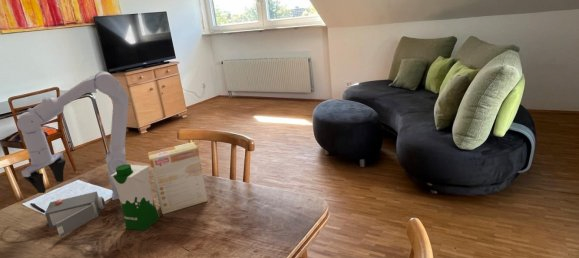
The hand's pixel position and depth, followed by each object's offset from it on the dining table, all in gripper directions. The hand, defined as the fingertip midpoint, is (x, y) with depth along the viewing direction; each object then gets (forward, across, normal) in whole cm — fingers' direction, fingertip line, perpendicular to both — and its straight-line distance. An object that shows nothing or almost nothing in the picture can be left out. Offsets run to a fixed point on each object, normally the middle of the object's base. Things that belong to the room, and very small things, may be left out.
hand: (51, 186), depth 122 cm
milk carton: (+10, +5, +35) cm, 36 cm away
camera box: (+10, +2, +8) cm, 13 cm away
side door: (+9, +8, +15) cm, 20 cm away
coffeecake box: (+10, -7, +42) cm, 44 cm away
